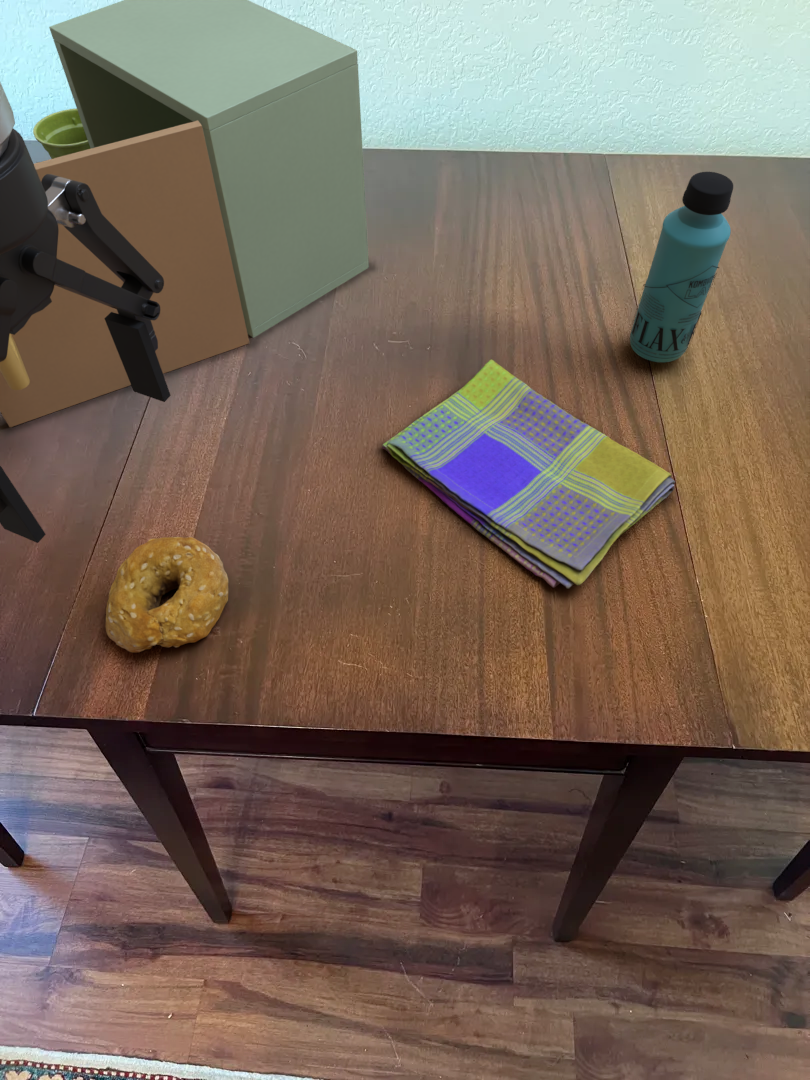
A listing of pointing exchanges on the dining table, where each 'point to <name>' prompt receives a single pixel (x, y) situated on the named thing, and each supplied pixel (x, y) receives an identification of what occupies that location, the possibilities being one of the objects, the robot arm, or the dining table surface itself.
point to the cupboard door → (164, 241)
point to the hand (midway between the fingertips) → (93, 458)
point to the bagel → (151, 576)
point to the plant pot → (61, 133)
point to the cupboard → (239, 130)
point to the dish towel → (530, 475)
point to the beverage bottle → (682, 269)
